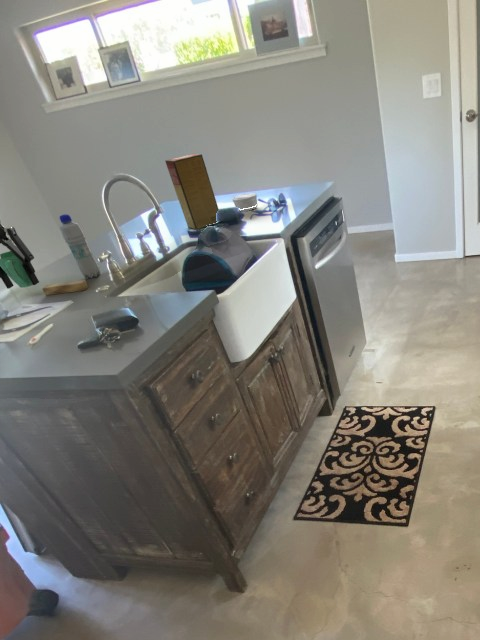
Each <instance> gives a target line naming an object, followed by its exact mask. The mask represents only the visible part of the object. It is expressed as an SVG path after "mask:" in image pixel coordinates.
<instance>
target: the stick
mask: <svg viewBox="0 0 480 640" xmlns="http://www.w3.org/2000/svg"><path fill="white" fill-rule="evenodd" d="M87 289H89V285H88V283H87V281H86V279H81V280H75V281H67V282H59V283H53V284H52V283H51V284H46V285H44V286H43V287H42V290H43V292H44V294H45V295H46V296H51V295H58V294H66V293H67V294H68V293H75V292H82V291H86V290H87Z"/></svg>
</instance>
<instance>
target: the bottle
mask: <svg viewBox="0 0 480 640" xmlns="http://www.w3.org/2000/svg"><path fill="white" fill-rule="evenodd" d="M59 221H60V223H61V225H60V227H59V230H60V232H61V235H62V238H63V240H64V242H65V243H66V244H67V246H68V247H69V250H70V251H71V253H72V255H73V258H74V260H75V261H76V264H77V266H78V269H79V271H80V272H81V274H82V276H83V277H84V278H85V279H93V276H94V277H95V278H98V276H101V268H100V267H99V264H98V262H97V261H96V258H95V256H94V255H93V252H92V251H91V249H90V247H89V244H88V242H87V240H86V236H85V233H84V231H83V230H82V228H81V226H80V225H79V223H78V222H74V221H73V219H72V217H71V216H70V215H69V214H67V213H65V214H61V215H60V216H59Z"/></svg>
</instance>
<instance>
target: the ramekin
mask: <svg viewBox="0 0 480 640" xmlns="http://www.w3.org/2000/svg"><path fill="white" fill-rule="evenodd" d="M257 197H258V195H257V193H254V192H253V193H243V194H239V195H236V196H234V197H233V198H232V199H231V200H232V202H233V204H234V206H235V208H236V207H238V208H240V209H243V208H248V207H252V206H255V205H256V204H257V206H256V207H257V208H258V199H257ZM256 207H253V208H250V209H244V210H241V211H246V212H250V211H253V210H252V209H254V210H256V209H257V208H256ZM255 208H256V209H255ZM249 210H250V211H249Z"/></svg>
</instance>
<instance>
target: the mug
mask: <svg viewBox="0 0 480 640" xmlns="http://www.w3.org/2000/svg"><path fill="white" fill-rule="evenodd" d="M22 264H23V262H22V261H21V260H20V259H19V258H18V257H17V256H15V255H14V254H13V253H12V252H11V251H10V250H9V251H5V252H2V253H0V267H1V268H2V269H3V270H4V271H5V273H6V274H7V275H8V277H9V278H10V280H11V281H13V282H14V283H15V284H16V285H17V286H18V287H19V288H23V289H24V288H28V287H32V286H34V285H33V284H32V282H31V280H30V278H29V277H28V275H27V273H26V271H25V270H24V268H23V266H22Z"/></svg>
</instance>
